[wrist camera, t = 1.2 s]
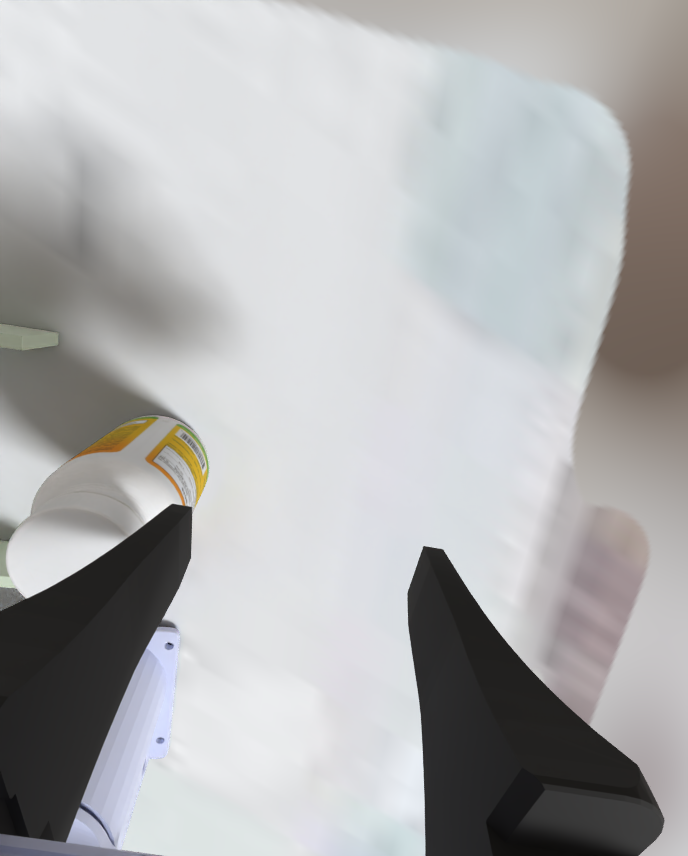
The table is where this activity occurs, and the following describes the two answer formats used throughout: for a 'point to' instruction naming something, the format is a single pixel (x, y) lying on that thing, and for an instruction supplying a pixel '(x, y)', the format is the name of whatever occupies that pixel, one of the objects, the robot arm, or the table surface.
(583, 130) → the table surface
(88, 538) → the supplement bottle
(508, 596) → the table surface
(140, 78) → the table surface
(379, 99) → the table surface
